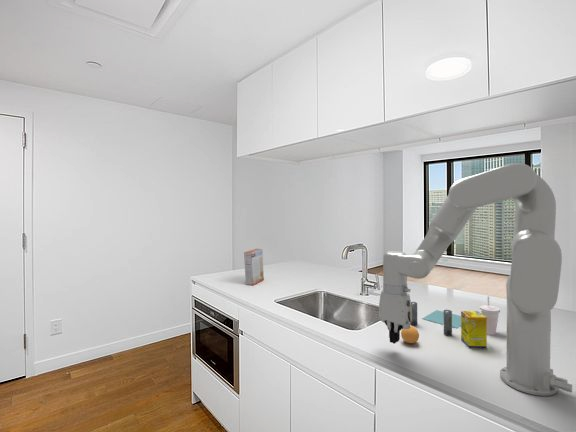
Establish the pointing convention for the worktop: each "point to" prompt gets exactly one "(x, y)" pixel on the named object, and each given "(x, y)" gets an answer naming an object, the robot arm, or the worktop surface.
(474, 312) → the supplement box
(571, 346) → the worktop surface
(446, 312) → the post right
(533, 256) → the robot arm
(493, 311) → the smoothie
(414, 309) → the post left
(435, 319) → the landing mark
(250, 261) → the cracker box
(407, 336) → the ball
